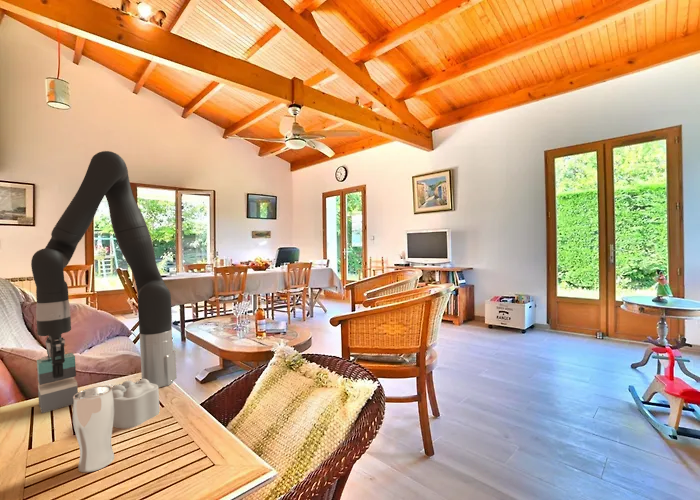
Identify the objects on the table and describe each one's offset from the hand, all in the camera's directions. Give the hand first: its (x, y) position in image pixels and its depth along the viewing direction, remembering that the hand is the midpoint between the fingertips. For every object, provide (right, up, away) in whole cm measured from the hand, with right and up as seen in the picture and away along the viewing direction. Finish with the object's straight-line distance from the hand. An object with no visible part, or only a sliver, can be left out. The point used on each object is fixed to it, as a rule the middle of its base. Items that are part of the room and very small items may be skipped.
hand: (57, 374), depth 100 cm
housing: (0, -1, 0) cm, 1 cm away
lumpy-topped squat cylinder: (+27, -8, -9) cm, 30 cm away
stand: (0, -8, 0) cm, 9 cm away
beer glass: (+33, -8, -28) cm, 44 cm away
